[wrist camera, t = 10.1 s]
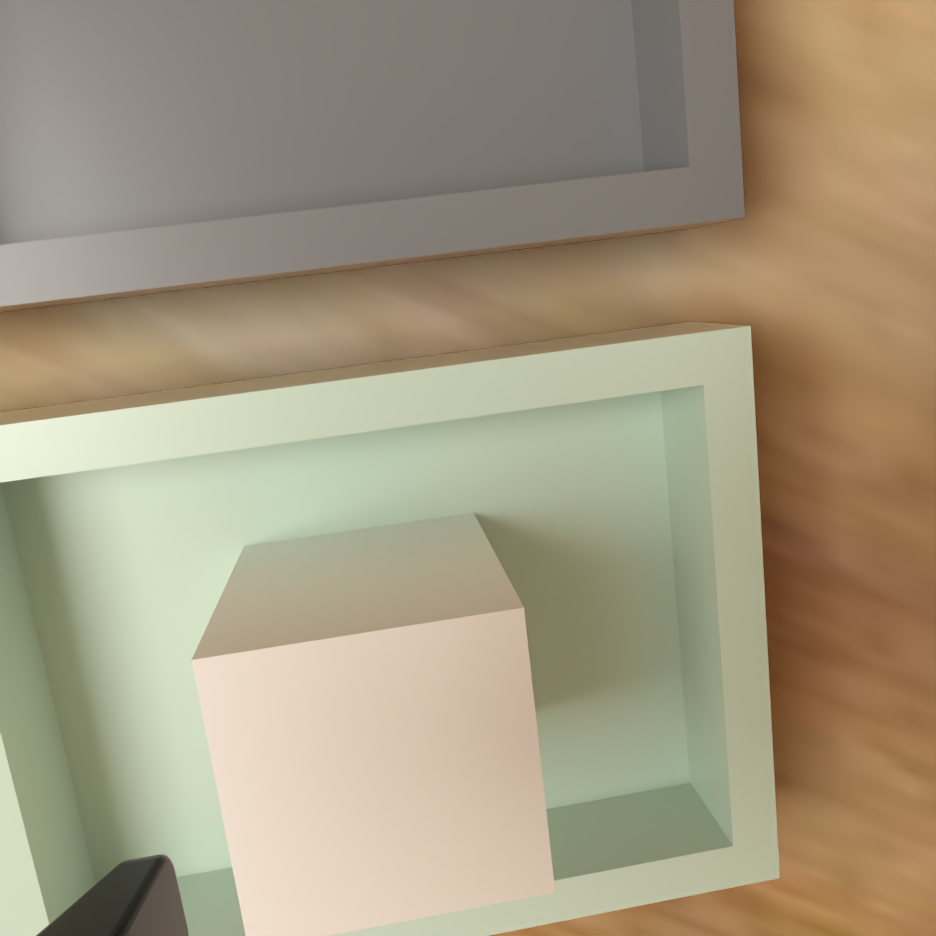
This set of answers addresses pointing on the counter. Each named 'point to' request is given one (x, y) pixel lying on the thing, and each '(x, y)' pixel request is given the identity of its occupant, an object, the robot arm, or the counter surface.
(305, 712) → the stone block
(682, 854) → the bin
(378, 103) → the bin
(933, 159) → the counter surface
